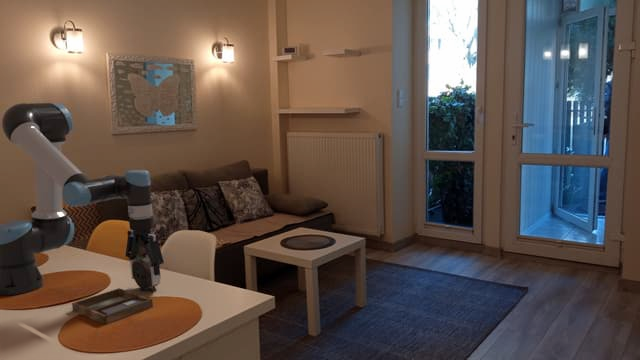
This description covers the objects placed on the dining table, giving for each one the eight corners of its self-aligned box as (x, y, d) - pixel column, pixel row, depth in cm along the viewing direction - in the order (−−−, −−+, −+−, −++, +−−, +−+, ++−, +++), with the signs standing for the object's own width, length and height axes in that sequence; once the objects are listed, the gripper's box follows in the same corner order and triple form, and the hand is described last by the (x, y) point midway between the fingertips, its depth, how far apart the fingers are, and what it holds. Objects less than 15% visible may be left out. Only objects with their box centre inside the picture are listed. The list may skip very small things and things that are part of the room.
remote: (101, 317, 151) (101, 309, 151) (135, 305, 160) (134, 298, 159) (109, 320, 149) (108, 312, 148) (142, 308, 157) (142, 301, 157)
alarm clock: (162, 292, 172) (159, 245, 170) (148, 297, 168) (144, 248, 166) (145, 285, 180) (141, 240, 177) (130, 290, 176) (126, 243, 173)
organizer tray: (73, 313, 157) (71, 303, 157) (120, 297, 169) (119, 288, 169) (105, 327, 146) (104, 316, 146) (152, 309, 158) (152, 299, 158)
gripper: (111, 215, 175) (116, 277, 178) (151, 223, 160) (156, 291, 163) (131, 211, 181) (136, 272, 184) (172, 218, 166) (176, 284, 169)
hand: (145, 281), depth 173 cm, fingers closed on alarm clock, 11 cm apart
